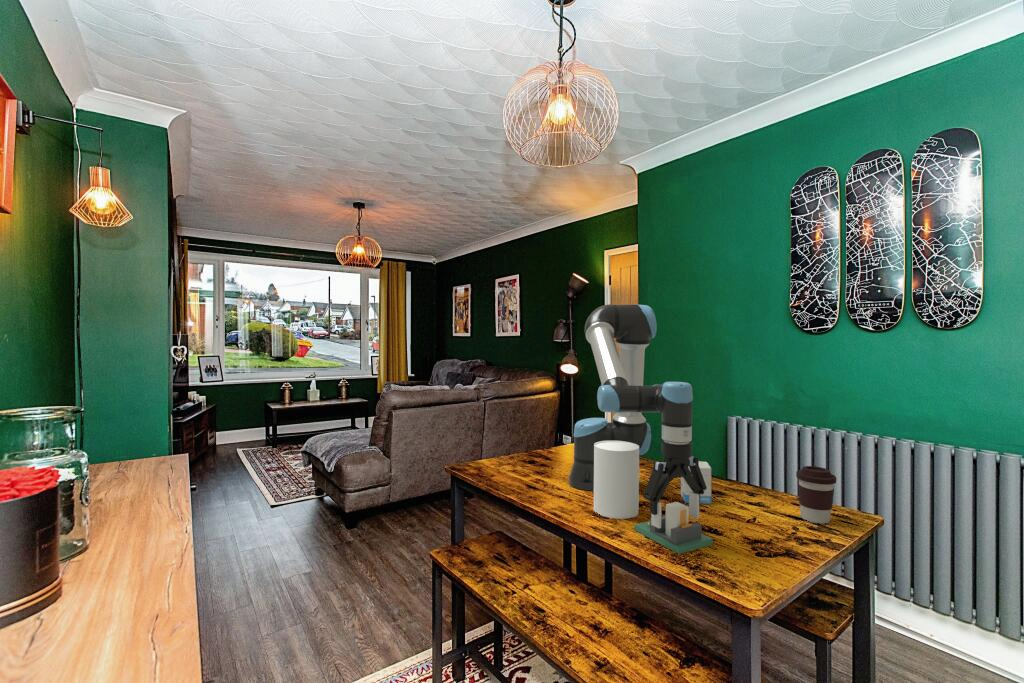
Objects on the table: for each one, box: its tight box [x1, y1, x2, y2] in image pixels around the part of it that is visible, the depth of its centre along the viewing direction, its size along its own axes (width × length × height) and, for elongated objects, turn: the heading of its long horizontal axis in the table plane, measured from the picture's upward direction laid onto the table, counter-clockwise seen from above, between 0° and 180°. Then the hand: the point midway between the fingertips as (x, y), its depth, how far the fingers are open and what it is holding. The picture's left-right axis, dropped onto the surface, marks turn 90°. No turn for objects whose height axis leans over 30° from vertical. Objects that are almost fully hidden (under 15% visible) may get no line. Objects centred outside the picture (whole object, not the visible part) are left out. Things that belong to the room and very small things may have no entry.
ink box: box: [680, 460, 712, 505], centre depth 156 cm, size 9×8×13 cm
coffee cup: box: [795, 465, 837, 525], centre depth 140 cm, size 10×10×15 cm
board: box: [634, 514, 714, 555], centre depth 127 cm, size 16×12×5 cm
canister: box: [593, 441, 640, 520], centre depth 146 cm, size 14×14×20 cm
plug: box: [665, 501, 690, 537], centre depth 124 cm, size 4×4×8 cm
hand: (675, 521), depth 125 cm, fingers open, 13 cm apart
